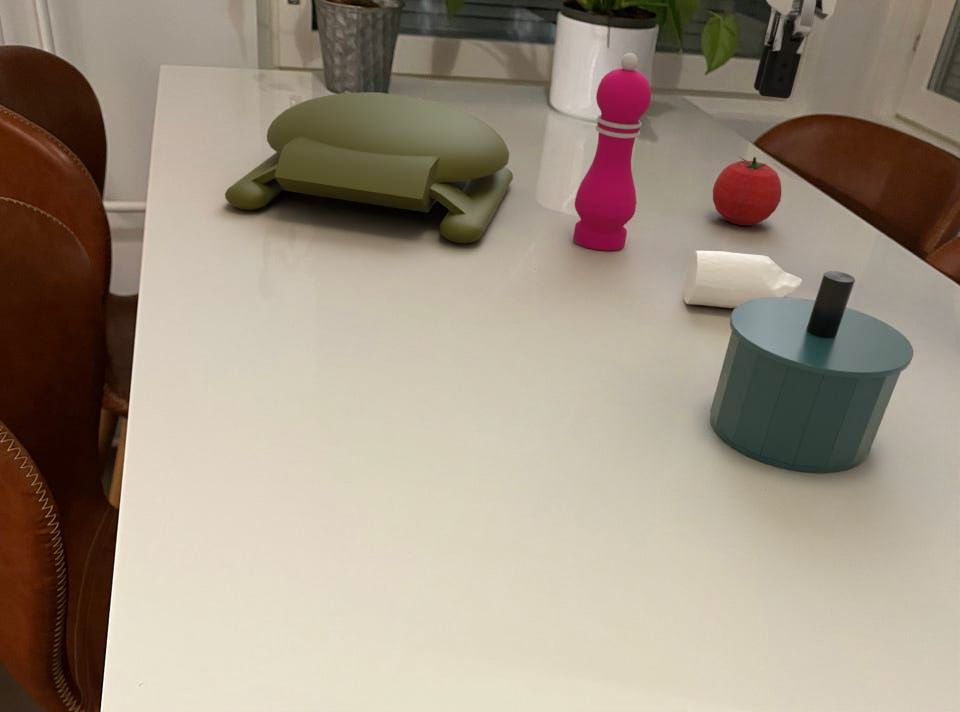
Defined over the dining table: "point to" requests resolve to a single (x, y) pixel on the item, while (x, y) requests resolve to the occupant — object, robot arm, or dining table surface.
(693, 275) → the white bottle
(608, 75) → the pepper mill
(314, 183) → the spaceship
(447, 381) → the dining table surface
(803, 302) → the pot lid
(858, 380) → the pot
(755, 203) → the tomato
